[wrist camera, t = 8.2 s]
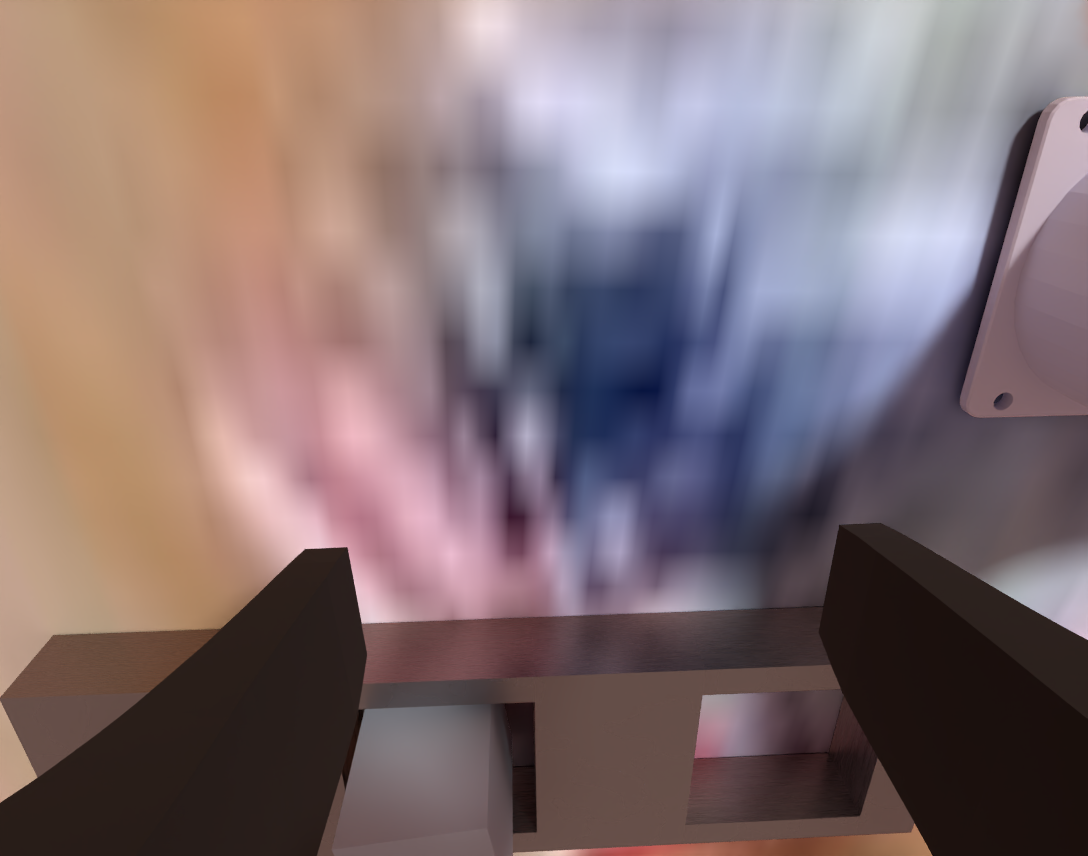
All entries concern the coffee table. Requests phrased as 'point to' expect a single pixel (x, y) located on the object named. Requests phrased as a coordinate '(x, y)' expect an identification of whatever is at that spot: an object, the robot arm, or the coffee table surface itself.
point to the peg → (429, 784)
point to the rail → (552, 719)
